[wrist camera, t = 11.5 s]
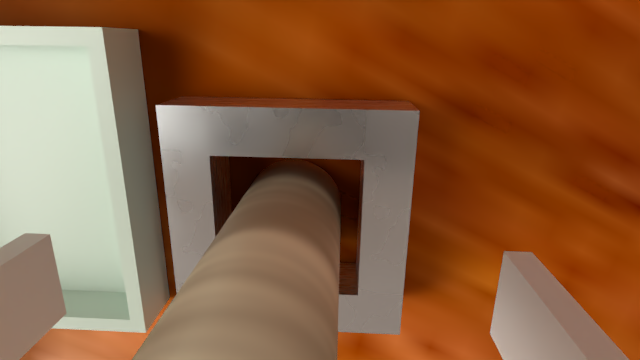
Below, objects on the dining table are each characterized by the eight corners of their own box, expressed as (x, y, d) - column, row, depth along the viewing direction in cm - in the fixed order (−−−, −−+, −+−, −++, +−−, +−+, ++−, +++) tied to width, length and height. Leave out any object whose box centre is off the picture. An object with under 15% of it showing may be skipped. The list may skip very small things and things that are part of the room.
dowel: (247, 157, 17) (-81, 527, 4) (342, 161, 17) (335, 564, 4) (249, 243, 18) (4, 748, 5) (339, 248, 18) (323, 783, 5)
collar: (182, 96, 17) (155, 105, 14) (408, 100, 16) (419, 110, 14) (200, 289, 19) (180, 324, 17) (392, 298, 19) (399, 334, 17)
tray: (-110, 26, 16) (-187, 23, 14) (137, 29, 16) (101, 27, 13) (-32, 288, 20) (-82, 321, 18) (170, 297, 20) (146, 332, 17)
